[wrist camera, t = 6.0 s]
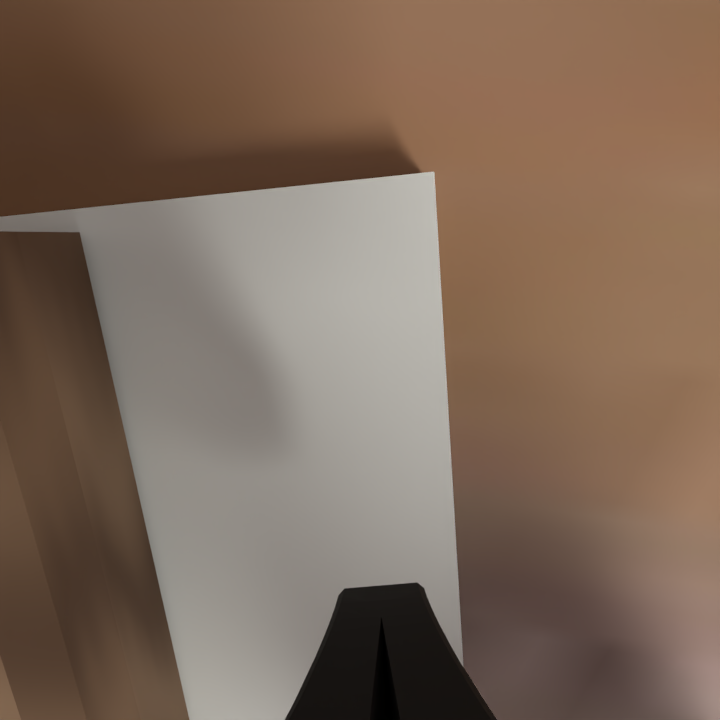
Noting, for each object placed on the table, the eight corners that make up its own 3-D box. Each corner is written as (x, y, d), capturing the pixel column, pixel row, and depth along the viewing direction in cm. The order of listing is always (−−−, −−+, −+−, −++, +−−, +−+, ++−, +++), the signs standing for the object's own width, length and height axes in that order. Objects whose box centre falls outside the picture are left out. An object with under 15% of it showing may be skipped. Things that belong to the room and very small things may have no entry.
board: (459, 696, 15) (508, 923, 10) (-117, 742, 16) (-342, 982, 11) (426, 177, 12) (477, 134, 7) (-319, 255, 12) (-802, 269, 7)
